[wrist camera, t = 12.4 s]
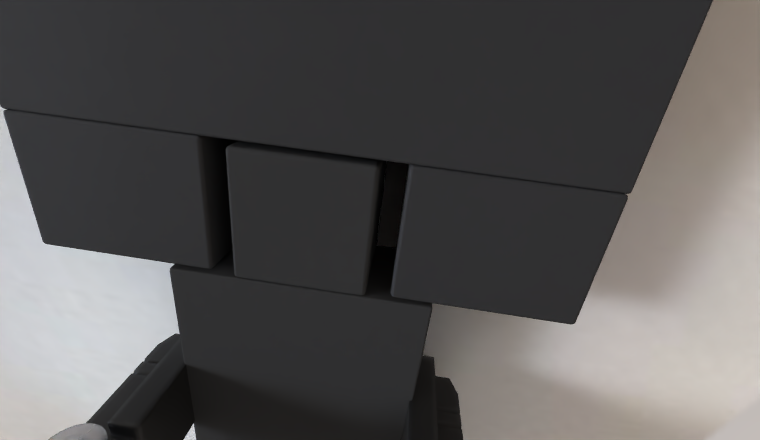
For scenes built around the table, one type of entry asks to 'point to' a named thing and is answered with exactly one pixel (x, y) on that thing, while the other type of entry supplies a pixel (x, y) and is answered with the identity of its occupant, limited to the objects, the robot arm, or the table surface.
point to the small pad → (300, 306)
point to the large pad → (351, 124)
